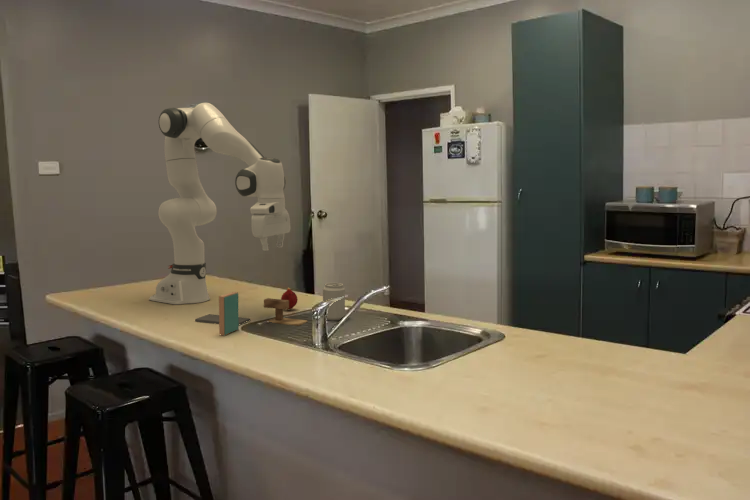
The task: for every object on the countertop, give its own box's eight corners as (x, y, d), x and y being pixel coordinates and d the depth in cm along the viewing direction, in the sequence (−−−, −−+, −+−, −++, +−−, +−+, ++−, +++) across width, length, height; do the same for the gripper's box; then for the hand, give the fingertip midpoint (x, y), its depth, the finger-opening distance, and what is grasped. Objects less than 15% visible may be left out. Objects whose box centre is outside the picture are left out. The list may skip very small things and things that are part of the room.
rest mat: (195, 321, 212) (195, 319, 212) (209, 316, 220) (209, 314, 219) (237, 326, 207) (237, 323, 207) (250, 320, 214) (250, 318, 214)
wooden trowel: (261, 321, 213) (261, 300, 213) (270, 318, 219) (270, 297, 218) (298, 326, 208) (298, 304, 207) (307, 322, 214) (307, 300, 213)
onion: (298, 308, 234) (298, 286, 233) (295, 311, 228) (295, 289, 227) (283, 307, 235) (283, 286, 234) (279, 311, 229) (279, 289, 228)
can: (349, 318, 219) (349, 283, 218) (333, 322, 214) (333, 286, 212) (334, 315, 224) (334, 280, 223) (318, 318, 219) (318, 283, 218)
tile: (219, 335, 195) (218, 296, 194) (233, 329, 203) (233, 291, 201) (224, 336, 195) (224, 296, 193) (239, 330, 202) (238, 292, 200)
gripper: (278, 205, 223) (279, 245, 225) (247, 208, 204) (248, 252, 206) (294, 205, 221) (295, 245, 223) (264, 208, 202) (266, 252, 203)
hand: (272, 248), depth 214 cm, fingers open, 8 cm apart
